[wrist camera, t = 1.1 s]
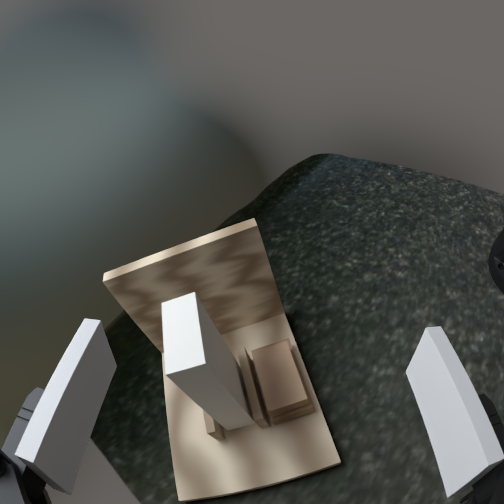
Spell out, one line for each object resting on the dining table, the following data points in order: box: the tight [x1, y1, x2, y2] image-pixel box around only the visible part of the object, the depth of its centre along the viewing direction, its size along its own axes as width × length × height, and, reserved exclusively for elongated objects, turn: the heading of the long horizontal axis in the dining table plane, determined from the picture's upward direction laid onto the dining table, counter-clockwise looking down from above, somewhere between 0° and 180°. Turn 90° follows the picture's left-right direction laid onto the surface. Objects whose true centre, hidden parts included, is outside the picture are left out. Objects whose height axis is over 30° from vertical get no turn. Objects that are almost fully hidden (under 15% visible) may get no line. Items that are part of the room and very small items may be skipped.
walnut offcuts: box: [251, 338, 315, 425], centre depth 36 cm, size 5×10×4 cm, turn 13°
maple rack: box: [103, 218, 341, 502], centre depth 33 cm, size 19×24×18 cm
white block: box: [162, 292, 256, 431], centre depth 32 cm, size 4×8×16 cm, turn 13°
